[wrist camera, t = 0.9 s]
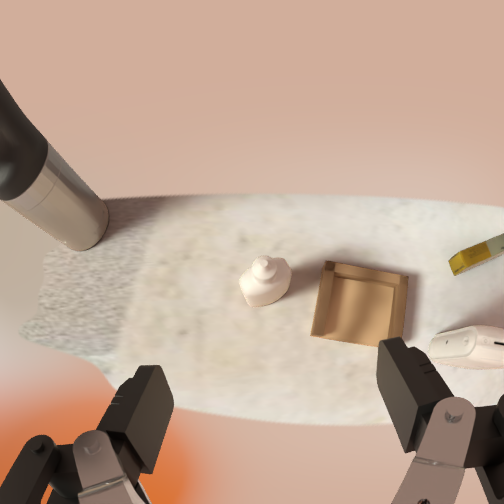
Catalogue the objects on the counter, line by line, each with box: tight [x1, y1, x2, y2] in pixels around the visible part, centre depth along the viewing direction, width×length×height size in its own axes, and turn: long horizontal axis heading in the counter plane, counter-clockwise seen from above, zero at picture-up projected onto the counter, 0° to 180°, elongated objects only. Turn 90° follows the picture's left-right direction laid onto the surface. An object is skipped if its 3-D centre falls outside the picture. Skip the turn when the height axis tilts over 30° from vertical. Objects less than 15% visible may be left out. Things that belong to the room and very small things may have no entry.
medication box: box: [448, 234, 504, 276], centre depth 38 cm, size 12×3×4 cm, turn 105°
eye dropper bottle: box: [239, 256, 292, 307], centre depth 34 cm, size 4×6×12 cm
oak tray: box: [310, 261, 408, 347], centre depth 37 cm, size 11×9×3 cm
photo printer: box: [428, 325, 504, 370], centre depth 29 cm, size 10×4×12 cm, turn 73°
